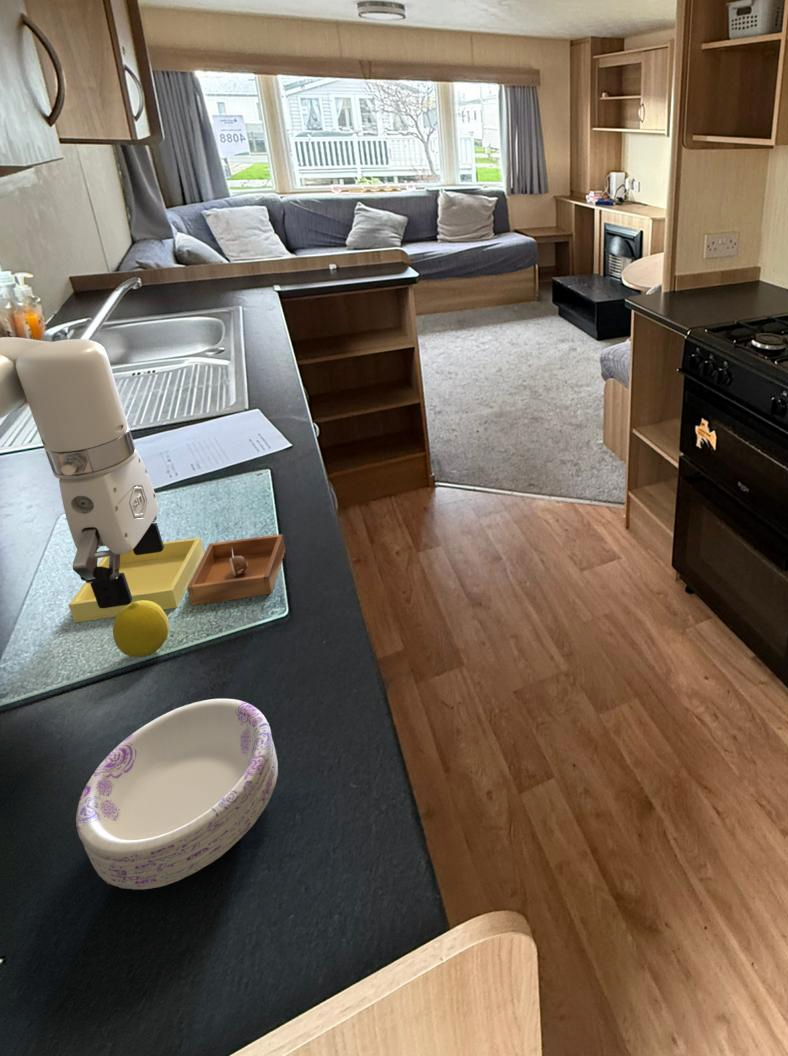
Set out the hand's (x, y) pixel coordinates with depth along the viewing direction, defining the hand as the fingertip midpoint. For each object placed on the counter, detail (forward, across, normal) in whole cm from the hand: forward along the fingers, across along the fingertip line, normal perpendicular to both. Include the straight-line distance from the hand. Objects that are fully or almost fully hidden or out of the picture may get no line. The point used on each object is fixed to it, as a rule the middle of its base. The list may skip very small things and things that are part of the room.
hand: (134, 577), depth 78 cm
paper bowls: (+12, -25, -12) cm, 30 cm away
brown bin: (+12, +13, -7) cm, 19 cm away
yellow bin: (+11, +14, +6) cm, 19 cm away
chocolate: (+11, +13, -6) cm, 18 cm away
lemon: (+12, 0, +1) cm, 12 cm away
